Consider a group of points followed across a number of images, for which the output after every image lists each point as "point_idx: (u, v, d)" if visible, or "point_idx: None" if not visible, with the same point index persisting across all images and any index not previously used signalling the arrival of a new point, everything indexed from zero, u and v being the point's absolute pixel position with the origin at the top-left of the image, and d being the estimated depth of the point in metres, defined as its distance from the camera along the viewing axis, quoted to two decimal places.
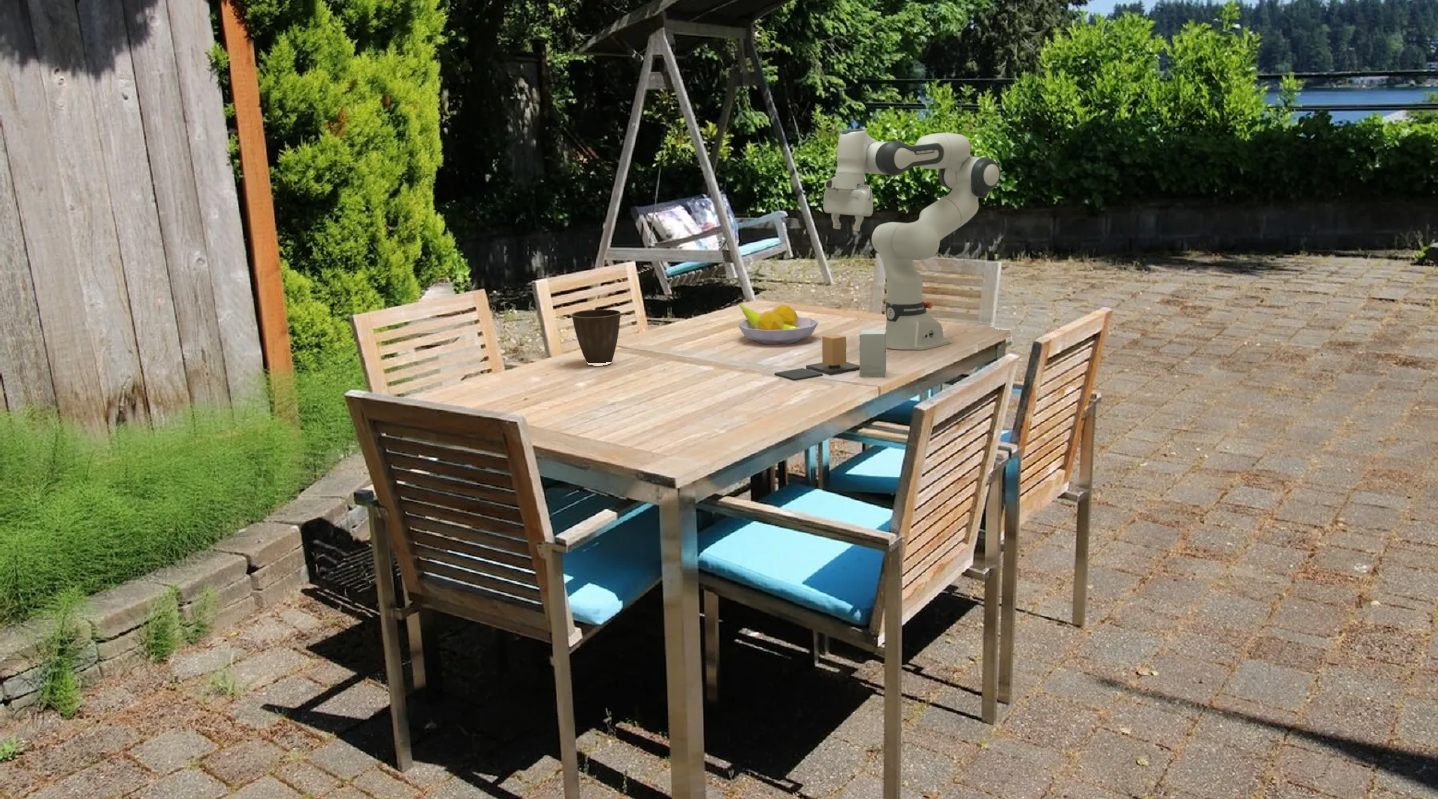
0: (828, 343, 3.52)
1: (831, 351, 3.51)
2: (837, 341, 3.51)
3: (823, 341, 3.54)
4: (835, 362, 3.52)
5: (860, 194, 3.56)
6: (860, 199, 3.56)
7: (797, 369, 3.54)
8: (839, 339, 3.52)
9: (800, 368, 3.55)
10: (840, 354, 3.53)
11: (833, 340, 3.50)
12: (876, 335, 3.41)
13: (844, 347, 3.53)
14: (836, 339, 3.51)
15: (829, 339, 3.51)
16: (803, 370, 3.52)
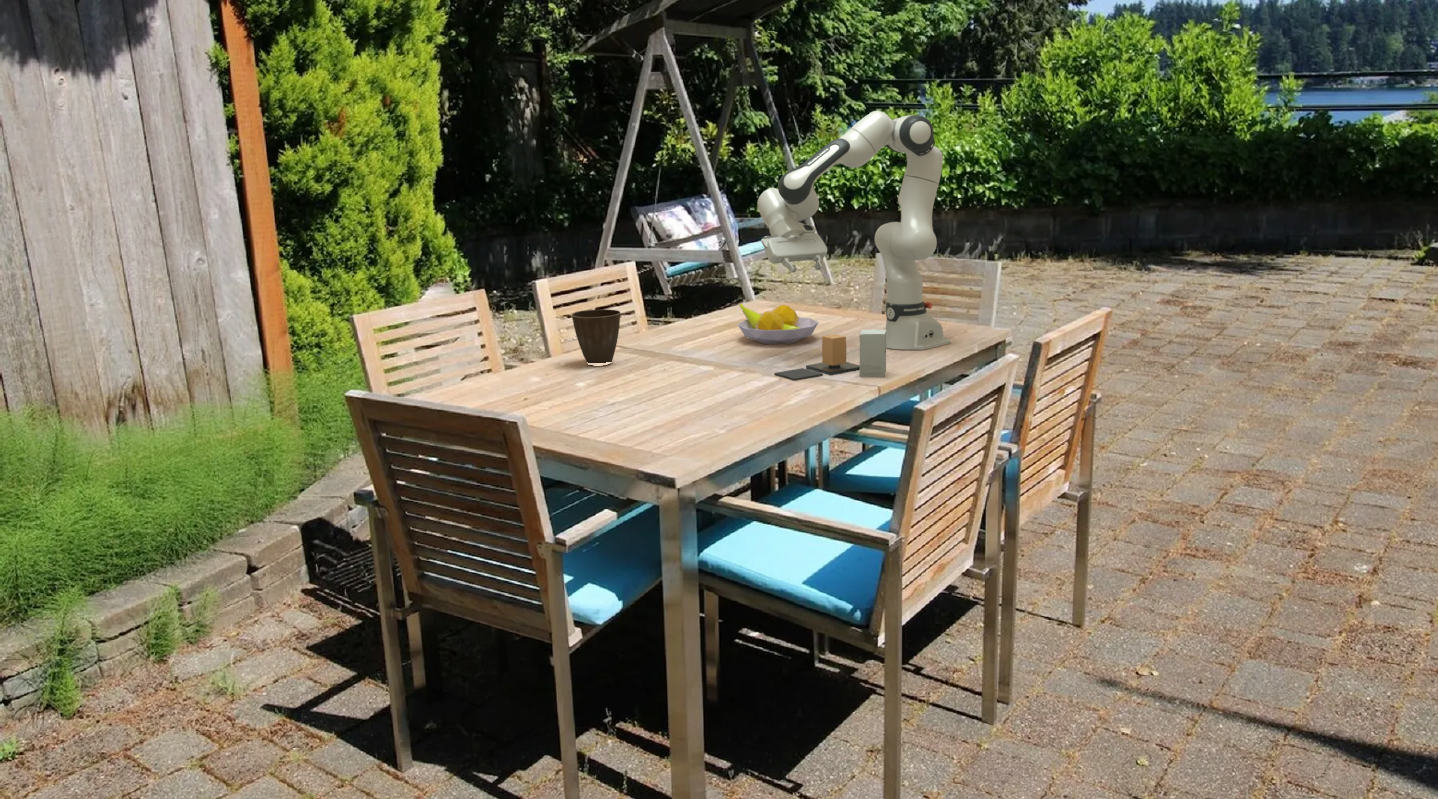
0: (828, 343, 3.52)
1: (831, 351, 3.51)
2: (837, 341, 3.51)
3: (823, 341, 3.54)
4: (835, 362, 3.52)
5: None
6: None
7: (797, 369, 3.54)
8: (839, 339, 3.52)
9: (800, 368, 3.55)
10: (840, 354, 3.53)
11: (833, 340, 3.50)
12: (876, 335, 3.41)
13: (844, 347, 3.53)
14: (836, 339, 3.51)
15: (829, 339, 3.51)
16: (803, 370, 3.52)
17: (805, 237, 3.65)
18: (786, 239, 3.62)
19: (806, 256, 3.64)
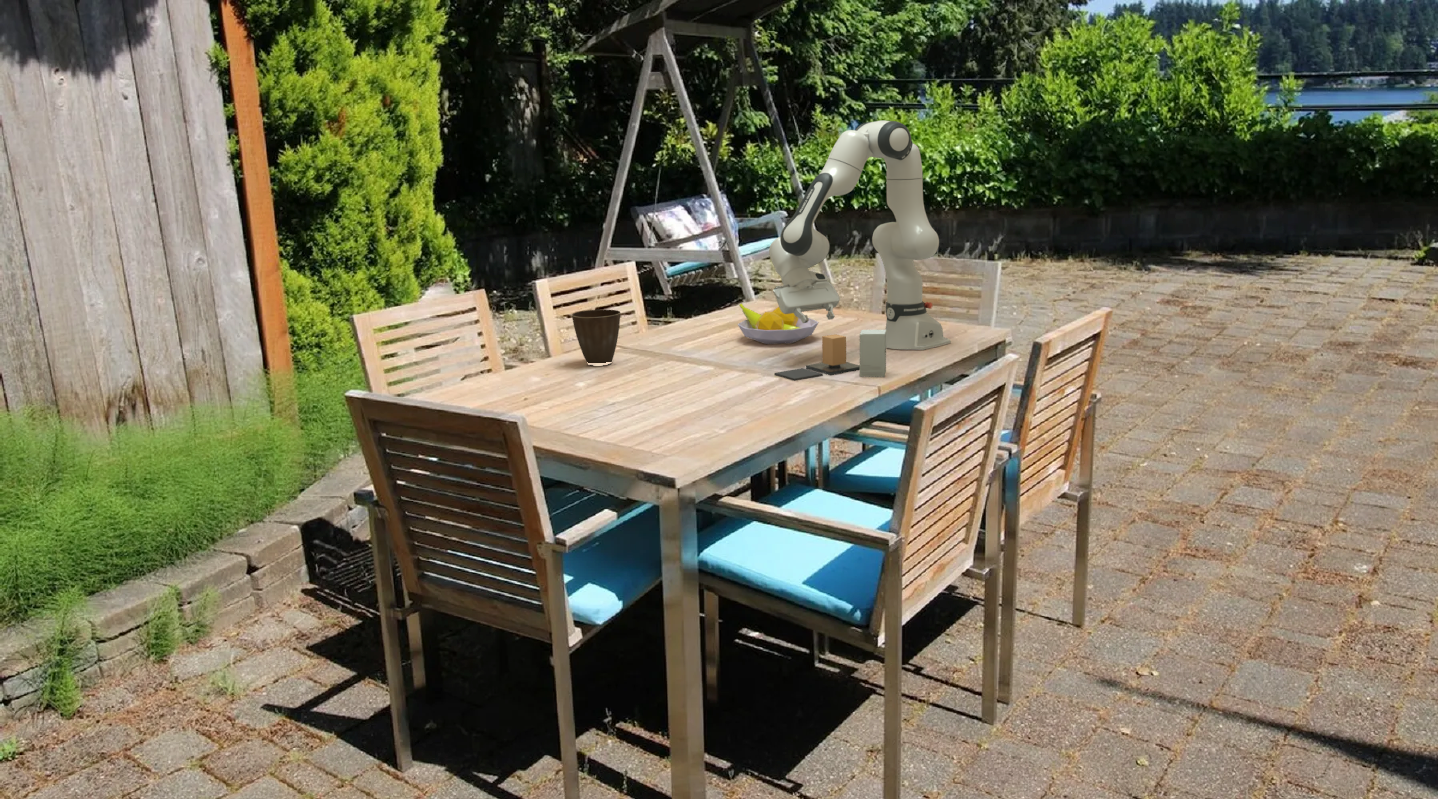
0: (828, 343, 3.52)
1: (831, 351, 3.51)
2: (837, 341, 3.51)
3: (823, 341, 3.54)
4: (835, 362, 3.52)
5: None
6: None
7: (797, 369, 3.54)
8: (839, 339, 3.52)
9: (800, 368, 3.55)
10: (840, 354, 3.53)
11: (833, 340, 3.50)
12: (876, 335, 3.41)
13: (844, 347, 3.53)
14: (836, 339, 3.51)
15: (829, 339, 3.51)
16: (803, 370, 3.52)
17: (817, 286, 3.63)
18: (798, 289, 3.60)
19: (818, 305, 3.62)
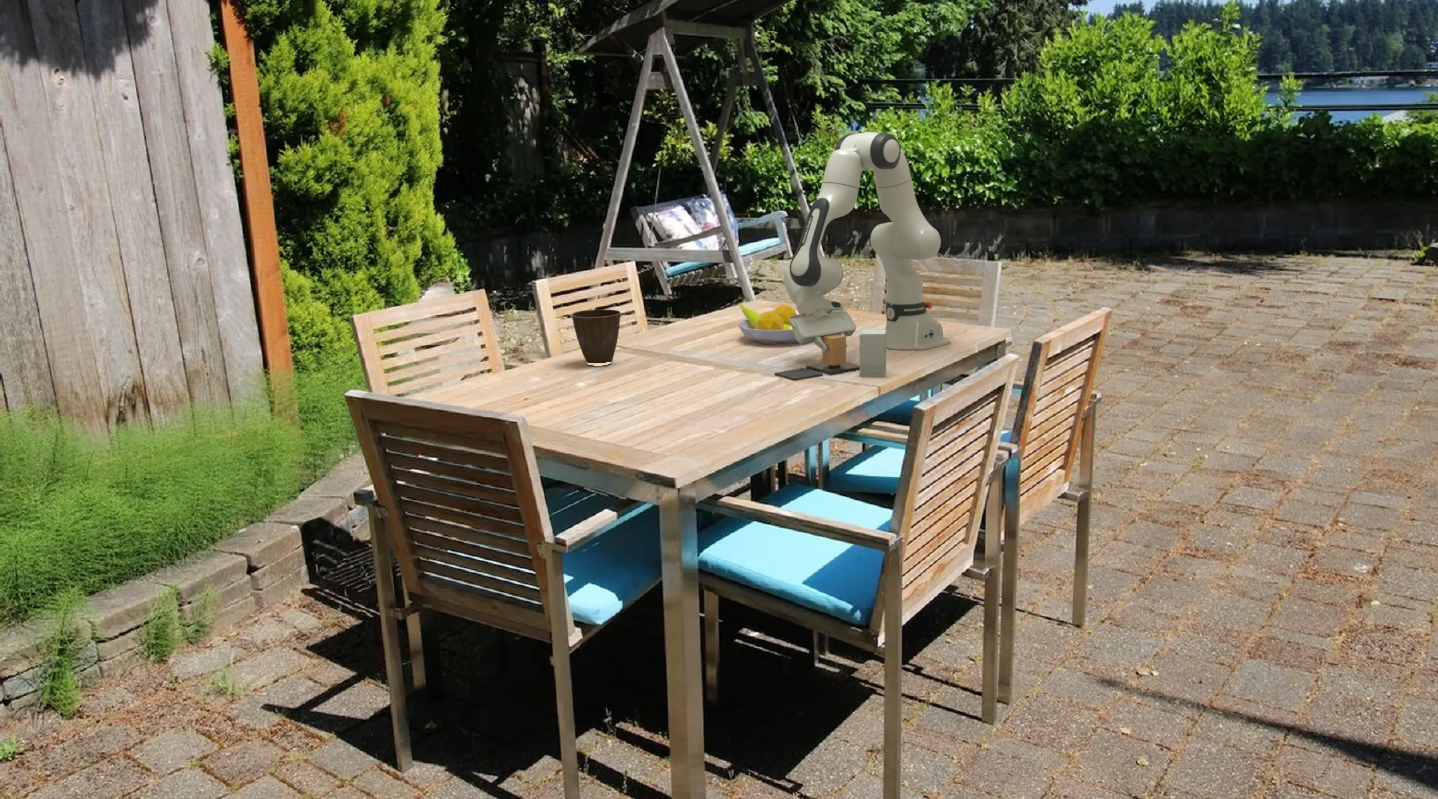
0: (828, 343, 3.52)
1: (831, 351, 3.51)
2: (837, 341, 3.51)
3: (823, 341, 3.54)
4: (835, 362, 3.52)
5: None
6: None
7: (797, 369, 3.54)
8: (839, 339, 3.52)
9: (800, 368, 3.55)
10: (840, 354, 3.53)
11: (833, 340, 3.50)
12: (876, 335, 3.41)
13: (844, 347, 3.53)
14: (836, 339, 3.51)
15: (829, 339, 3.51)
16: (803, 370, 3.52)
17: (833, 315, 3.59)
18: (814, 318, 3.55)
19: None
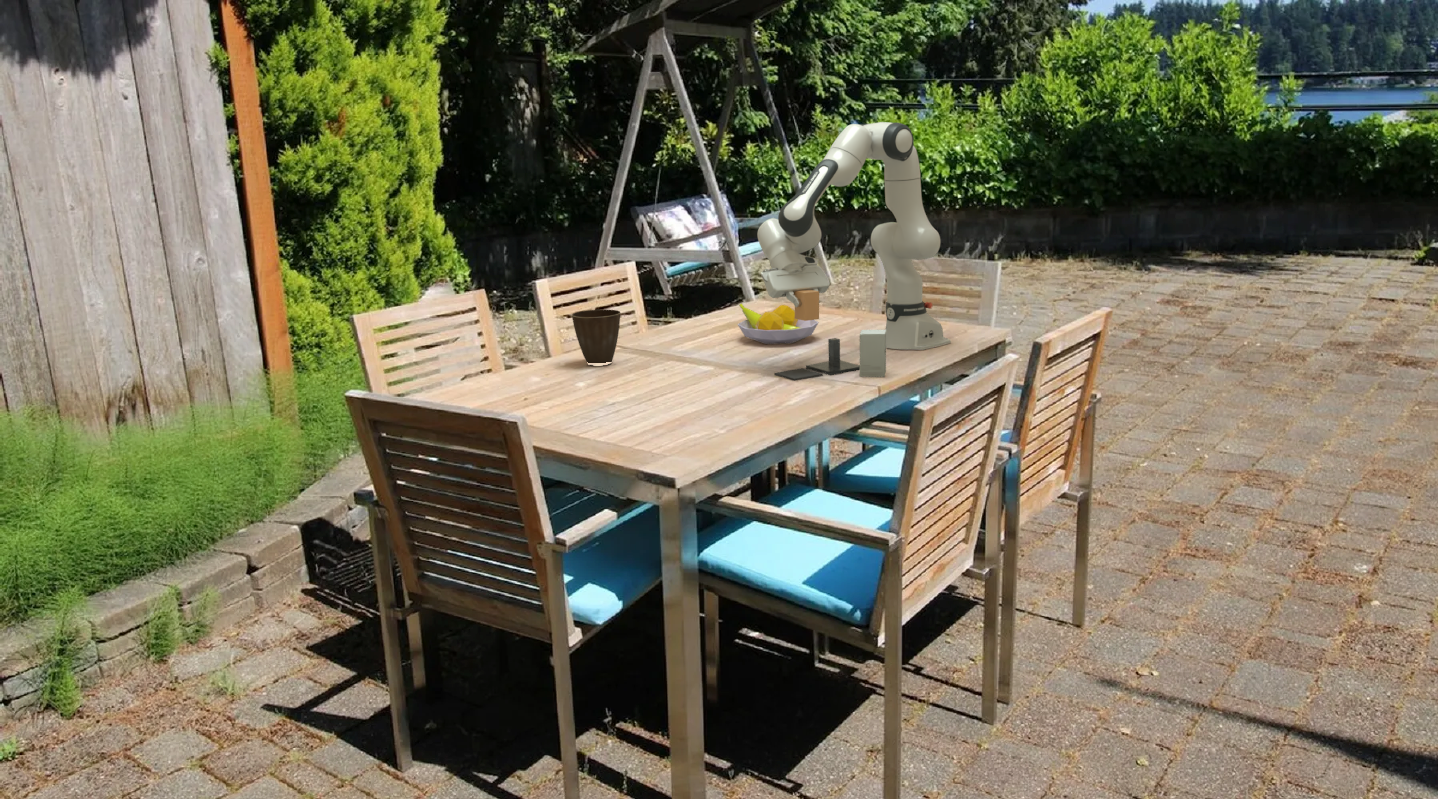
0: (801, 298, 3.44)
1: (803, 306, 3.43)
2: (810, 296, 3.43)
3: (796, 296, 3.46)
4: (807, 317, 3.44)
5: None
6: None
7: (797, 369, 3.54)
8: (812, 294, 3.43)
9: (800, 368, 3.55)
10: (813, 309, 3.44)
11: (806, 294, 3.42)
12: (876, 335, 3.41)
13: (817, 302, 3.45)
14: (809, 293, 3.43)
15: (801, 294, 3.43)
16: (803, 370, 3.52)
17: (806, 270, 3.50)
18: (787, 272, 3.47)
19: None
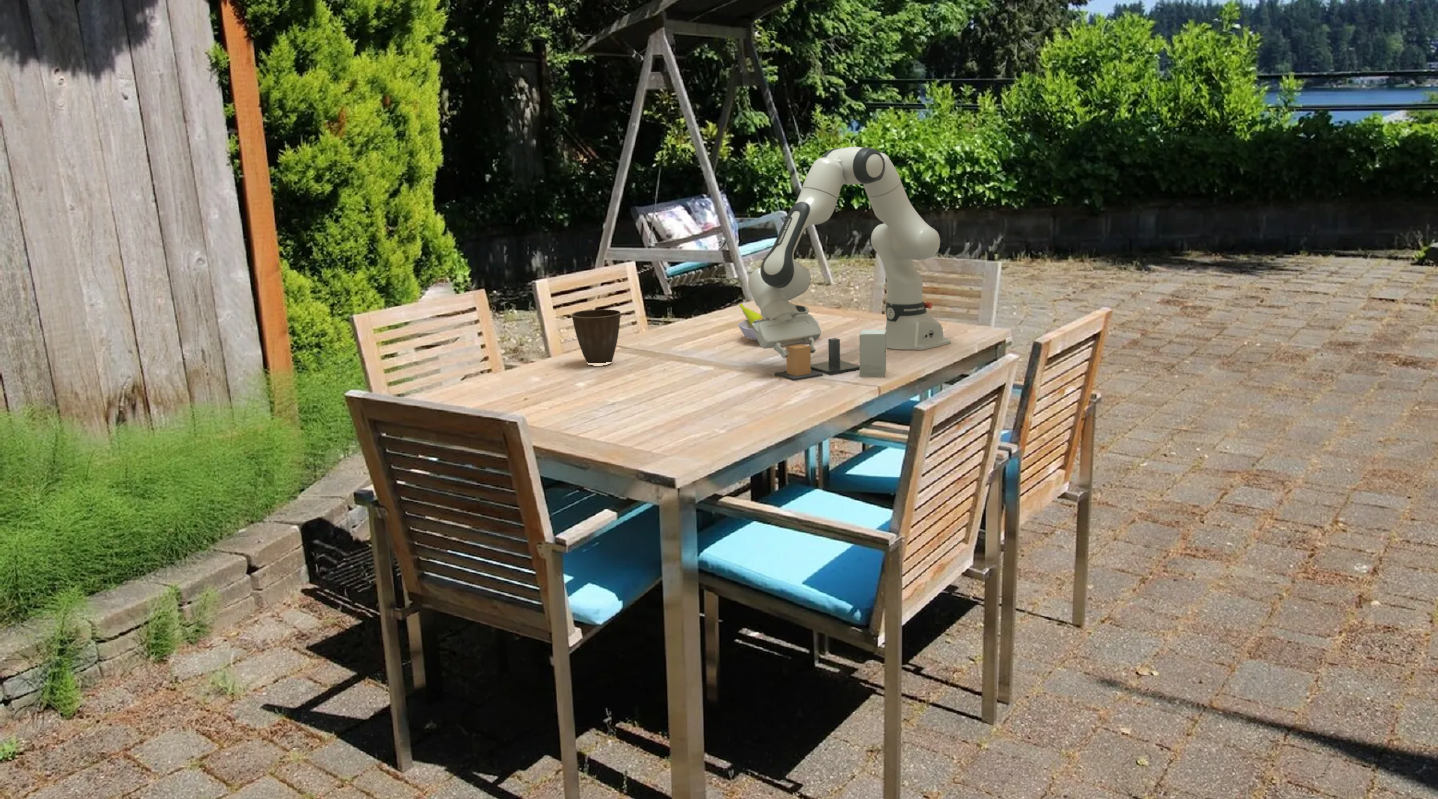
0: (792, 353, 3.46)
1: (795, 361, 3.45)
2: (801, 351, 3.45)
3: None
4: (799, 372, 3.46)
5: None
6: None
7: None
8: (803, 349, 3.45)
9: None
10: (804, 364, 3.46)
11: (797, 350, 3.44)
12: (876, 335, 3.41)
13: (809, 357, 3.47)
14: (800, 349, 3.45)
15: (793, 349, 3.45)
16: None
17: (797, 319, 3.52)
18: (778, 322, 3.49)
19: (799, 339, 3.51)
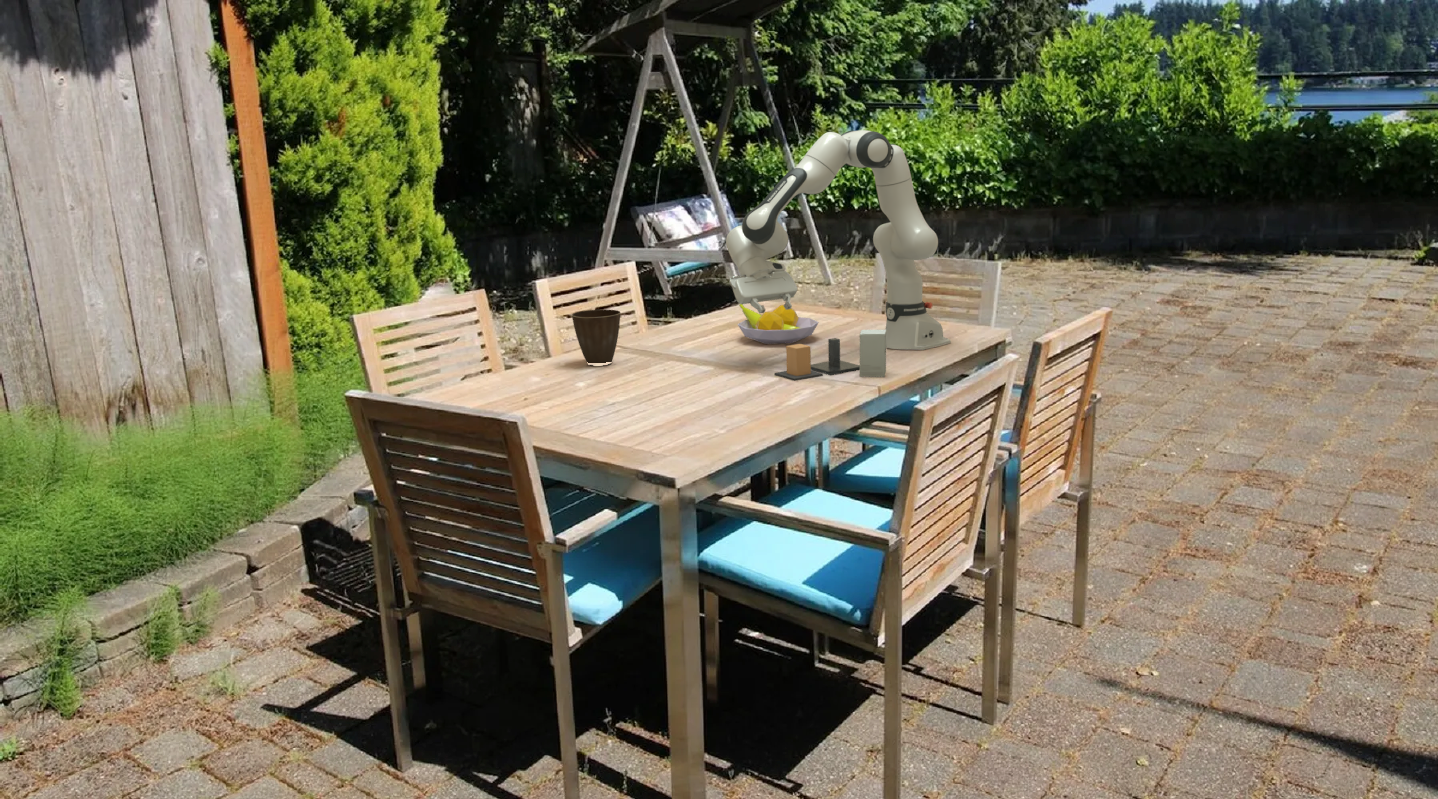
0: (792, 353, 3.46)
1: (795, 361, 3.45)
2: (801, 351, 3.45)
3: (787, 351, 3.48)
4: (799, 372, 3.46)
5: None
6: None
7: None
8: (803, 349, 3.45)
9: None
10: (804, 364, 3.46)
11: (797, 350, 3.44)
12: (876, 335, 3.41)
13: (809, 357, 3.47)
14: (800, 349, 3.45)
15: (793, 349, 3.45)
16: None
17: (774, 276, 3.59)
18: (755, 279, 3.56)
19: (776, 295, 3.58)
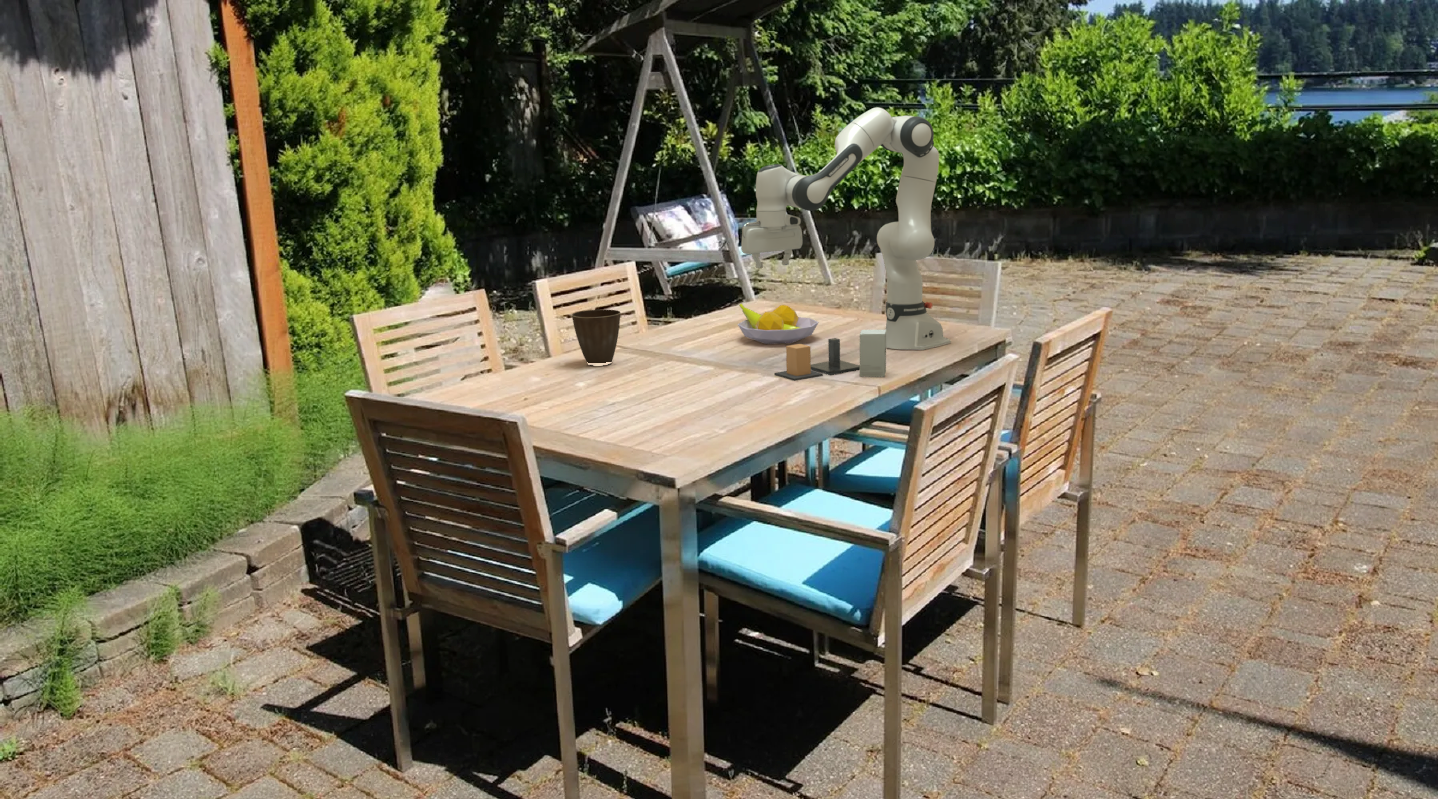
0: (792, 353, 3.46)
1: (795, 361, 3.45)
2: (801, 351, 3.45)
3: (787, 351, 3.48)
4: (799, 372, 3.46)
5: None
6: None
7: None
8: (803, 349, 3.45)
9: None
10: (804, 364, 3.46)
11: (797, 350, 3.44)
12: (876, 335, 3.41)
13: (809, 357, 3.47)
14: (800, 349, 3.45)
15: (793, 349, 3.45)
16: None
17: (786, 230, 3.60)
18: (767, 232, 3.57)
19: None
